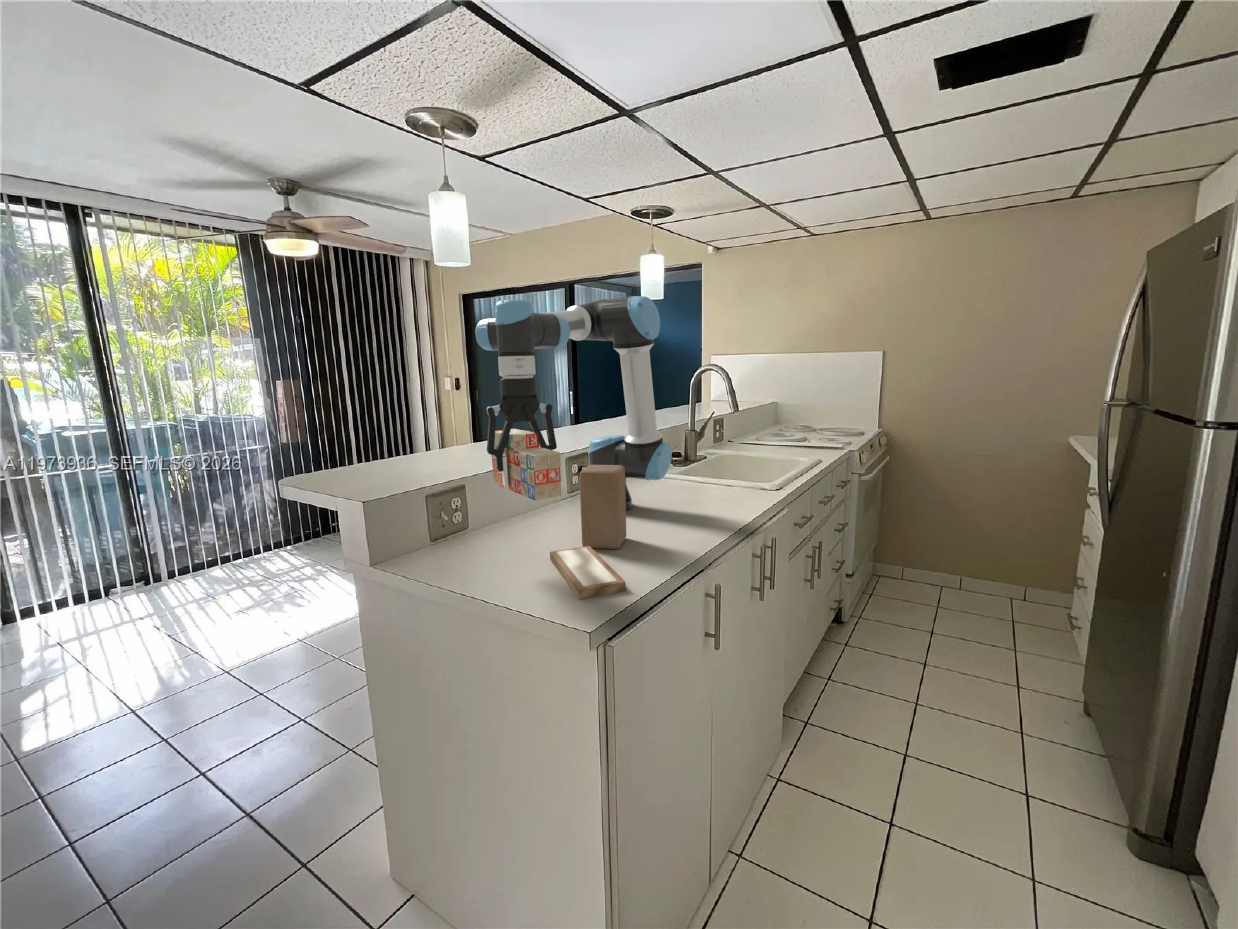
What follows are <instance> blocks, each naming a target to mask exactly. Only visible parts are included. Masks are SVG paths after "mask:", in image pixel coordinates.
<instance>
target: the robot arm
mask: <svg viewBox="0 0 1238 929" xmlns="http://www.w3.org/2000/svg"><path fill="white" fill-rule="evenodd" d="M494 306H495V309H494V310H495V313H494V314H495V315H494V316H495V317H488V318H483V319H481V320H479V322H478V323H477V324H476V327H475V330H474V333H475V339H476V342H477V345H478V346H480V347H481V348H482V349H483V350H485V351H491V352H492V351H493V352H496V351H497V356H498V357H497V360H498V362H497V363H498V375H499V376H500V377H502V378H501V379H500V380H499V390H500V391H499V392H500V401H499V403H498V405H494V406H493V405H492V406H487V407H486V408H485V410H486V414H487V416H488V424H487V425H488V426H487V438H486V439H487V441H486V452H487V454H489V455H495V456H496V462H497V469H498V471H499V472H500V471H502V475H503V485H504V487H508V472H507V457H506V456H505V455H503V452H504V449H505V446H506V443H507V440H508V437H509V434H510V431H511V429H513V428H512V427H513V425H514V423H519V422H528V424H529V426H530V429H531V432H534V433H537V435H536V436H538V440H539V447H541V448H545V449H550V450H553V451H554V450H556V449H557V448H558V446H557V440H556V434H555V430H554V423H553V418H552V411H553V405H552V404H551V403H544V402H540V401H539V399H538V391H537V379H536V378H535V377H534V376H535V375H536V373H537V372H536V358H535V350H541V349H542V350H543V349H548V350H552V349H553V350H555V349H560V348H563V347H564V346H565V345H566V344H567V343H568V342H569V340H570V339H571V340H573V341H576V342H577V341H578V342H580V341H600V342H601V341H602V342H612V343H613V344H612V346H613V350H615V351H616V352H617V353H618V354H619V359H620V361H619V362H620V368H621V369H620V370H621V376H622V377H621V379H622V386H623V396H624V403H625V405H624V406H625V412H626V414H625V415H626V421H627V431H628V432H627V434H626V435H624V434H617V435H608V436H607V435H606V436H602V437H596V438H593V439H591V440H590V441H589V443H588V459H589V460H588V462H589V465H622V466H624V468H625V495H626V511H628V510H630V509H632V507H633V500H632V496H631V494H630V490H629V488H628V485H627V479H638V480H644V481H660V480H661V479H663V478H664V477H665V476H666V475H667V473H668V471H669V469H670V466H671V463H672V462H671V461H672V447H671V445H670V444H669V443H668V442H666V441H663V434H662V433H661V432H660V431H659V430H658V427H657V416H656V407H655V396H654V388H653V386H654V385H653V374H652V364H651V354H650V353H651V352H650V350H651V349H652V347H653V346H654V345H655V341H654V340H655V339H656V338H657V337H658V336H659V334H660V328H661V318H660V313H659V310H658V308H657V306H656V304H655V303H654V301H653V300H652V299H651V298H649V297H648V296H643V295H641V296H639V295H637V296H636V295H635V296H634V295H631V296H625V297H617V298H616V297H615V298H609V299H608V298H607V299H606V298H604V299H597V300H594V301H590V302H585V303H582V304H579V305H577V304H576V305H572V306H570V307H568V308H567V309H566V310H557V311H556V310H555V311H549V312H548V311H547V312H534V310H533V305H532V302H530V301H529V300H525V299H505V300H498V301H497V303H495V305H494ZM539 409H540V412H541V413H542V415H543V422H544V425H545V426H544V427H545V432H546V437H547V441H548V443H547V442H546V441H545V438H544V436H543V434H542V432H541V428H540V427H539V425H538V422H537V420H536V418H535V415H536V414H537V411H538V410H539ZM499 411H501V413H503V415H504V416H506V417H505V421H504V424H503V427H502V434H501V437H500V440H499V443H498V446H497V449H494V443H495V431H496V425H497V423H496V422H497V418H496V417H498V416H499ZM589 465H588V466H589Z"/></svg>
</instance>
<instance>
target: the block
mask: <svg viewBox="0 0 1238 929" xmlns="http://www.w3.org/2000/svg"><path fill="white" fill-rule="evenodd" d="M578 475H579V495H580V498H579V499H580V522H581V523H580V525H581V526H580V527H581V544H582V547H586V546H590V547H591V548H592V549H609V550H618V549H620V548H621V546H622V545H623V542H624V541H625V540H626V537H627V510H626V495H625V468H624V466H622V465H588V466H586V467H585V468H584V469H582V470H581V471H580V472H579V474H578Z"/></svg>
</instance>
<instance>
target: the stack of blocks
mask: <svg viewBox="0 0 1238 929" xmlns="http://www.w3.org/2000/svg"><path fill="white" fill-rule="evenodd" d="M502 430H503V429H502ZM502 430H499V429H498V430H495V443H494V449H497V446H498V443H499V440H500V437H501V434H502ZM536 435H537V433H534V432H533V431H529V430H522V429H519V428H518V429H517V428H511V431H510V434H509V437H508V440H507V443H506V446H505V449H504V452H503V455H505V456H506V457H507V472H508V487H504V485H503V475H502V471H500V472H499V471H498V469H497V462H496V456H495V455H491V463H492V464H491V465H492V480H493V484H495V485H496V486H499V487H500V488H503V489H506V490H509V491H511V492H513V493H516V494H519V495H521V496H522V497H525V498H528V499H530V500H532V501H534V502H536V501H542V500H547V499H552V498H556V497H561V496H562V483H561V482H562V476H561V474H562V472H561V465H562V463H561V462H562V461H561V452H560V451H557V450H554V449H553V450H550V449H545V448H541V447H540V446H539V440H538V436H536Z"/></svg>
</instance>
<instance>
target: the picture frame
mask: <svg viewBox="0 0 1238 929" xmlns="http://www.w3.org/2000/svg"><path fill="white" fill-rule="evenodd" d="M549 560H550V561H551V563H552V565H554V567H555V568H556V569H557V572H558V573H559V574H560V575H561V577H562V578H563V580H564V581H565V583H566V584H567V585H568V586H569V588H570V589H571V590H572V592H573V593H574V595H575V596H576V598H577V599H578V600H583V599H587V598H593V597H599V596H605V595H609V594H614V593H616V594H617V593H621V592H626V591H627V590H626V588H627V587H626V581H625V580H624V579H623V578H622V577H621V575H619V573H617V572H616V570H614V569H613V568H612V567H611V566H610V565H609V564H608V563H607V561H606V560H604V559H603V558H602V556H600V555H599V554H598V552H597V551H596V550H595V549H594V548H591V547H590V546H586V547H583V546H580V547H572V548H566V549H560V550H553V551H552V550H551V551H550V552H549Z"/></svg>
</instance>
